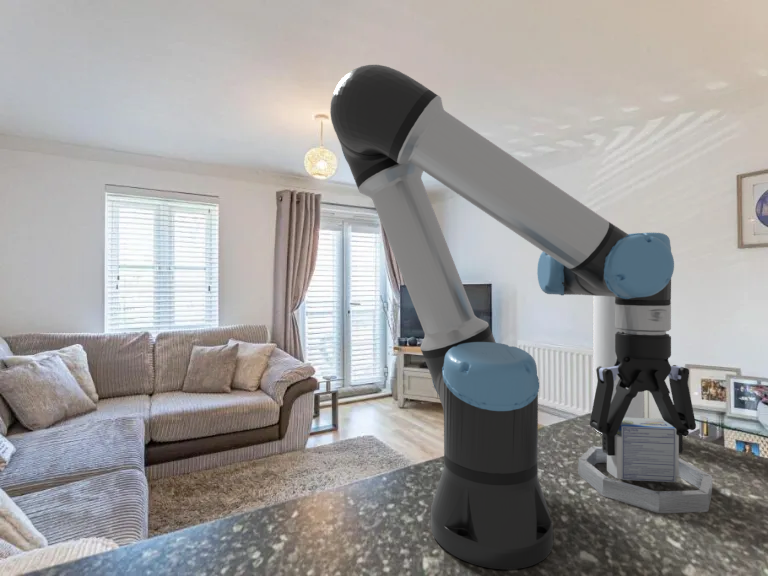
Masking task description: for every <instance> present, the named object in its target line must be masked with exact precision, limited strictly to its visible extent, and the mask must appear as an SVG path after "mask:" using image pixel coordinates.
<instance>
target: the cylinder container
mask: <svg viewBox="0 0 768 576" xmlns="http://www.w3.org/2000/svg"><path fill="white" fill-rule="evenodd" d="M592 296H593V295H592ZM592 301H593V304H592V305H593V306H592V309H593V310H592V311H593V312H592V314H593V317H592V318H593V323H592V325H593V327H592V328H593V330H592V332H593V333H592V335H593V336H592V337H593V339H592V341H593V343H592V347H593V349H592V353H593V354H592V356H593V358H592V362H593V363H592V368H593V370H592V372H593V373H592V375H593V377H592V380H593V382H592V388H593V389H592V390H593V391H592V394H593V395H592V396H593V397H592V402H593V403H594V398H595V393H596V388H597V383H598V378H597V372H596V369H597V367H599V366H601V367H604V368H607V367H613V366H614V364H615V363H616V360H617V356H616V353H615V334H616V333H617V332H619V329H617V328H616V327H615V297H610V296H593V297H592ZM619 379H620V378H619V377H618V375H616V380H615V381H614V389H613V394H612V399H611V402H612V400H613V398H614V395H615V393H616V386H617V384H618V381H619ZM626 389H629V388H627V387H626ZM593 403H592V404H593ZM624 417H627V418H645V391H643V392H638V393H637V395H636V397H634V398H633V399H632V401H631V403H630V405H629V407H628V410H627V412H626V414H625V416H624ZM595 430H596V429H595ZM596 431H597V432H599V431H598V430H596ZM597 432H596V433H597ZM599 433H601V434H602V432H599ZM601 434H600V435H601Z"/></svg>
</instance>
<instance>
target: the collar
mask: <svg viewBox="0 0 768 576" xmlns="http://www.w3.org/2000/svg"><path fill="white" fill-rule="evenodd" d="M604 463H606V464H607V454H606V453H604V452H603V450H602V446H590V447H589V448H588V449H587V450H586V451H585V452H584V453H583V454H582V455H581V456H580V457H579V458H578V465H577V466H578V468H577V469H578V471H577V472H578V475H579V476H580V478H582V479H584V481H585V482H587V483H588V484H589V485H590V486H591V487H592V488H593V489H594V490H596V491H597V493H598V494H600V495H602V497H605V498H608V499H612V500H615V501H618V502H621V503H625V504H628V505H630V506H634V507H637V508H641V509H644V510H647V511H649V512H653V513H656V514H676V513H677V514H681V513H708V512H709V508H710V505H711V498H712V494H713V476H712V475H711V474H709V473H707V472H706V471H704V470H702V469H700V468H698V467H696V466H695V465H694V464H693V465H692V464H691V463H689V462H687V461H685V460H684V459H682V458H681V457H679V477H678V478H681V479H682V480H684V481H686V482H687V483H689V484H691V485H692V486H694V487H695V488H697V490H670V491H669V490H668V491H667V490H666V491H662V490H661V491H656V490H652V489H649V488H645V487H642V486H639V485H634V484H631V483H628V482H624V481H620V480H618V479H617V480H616V479H613V478H609V477H607V475H605V474H604V473H603V472H601V471H600V470H598V468H596V467H595V465H596V464H604Z"/></svg>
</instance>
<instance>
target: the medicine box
mask: <svg viewBox="0 0 768 576" xmlns="http://www.w3.org/2000/svg"><path fill="white" fill-rule="evenodd" d="M617 434H618V435H619V436H621V437H622V479H621V480H623V481H638V482H639V481H640V482H642V481H643V482H659V483H660V482H661V483H663V482H664V483H665V482H666V483H677V477H676V428H674V427H673V426H672V425H670V424H669V423H667V422H666V421H664V420H663V418H654V417H653V418H650V417H649V418H648V417H644V418H627V417H624V418H623V421H622V423H621V425H620V427H619V430H618V432H617Z"/></svg>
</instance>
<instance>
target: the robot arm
mask: <svg viewBox="0 0 768 576" xmlns="http://www.w3.org/2000/svg"><path fill="white" fill-rule="evenodd" d="M331 97H332V98H331V101H330V111H329V114H330V120H331V124H332V127H333V130H334V132H335V135H336V137H337V139H338V142H339V144H340V147H341V150H342V154H343V157H344V159H345V161H346V163H347V165H348V166H349V170H350V172H351V174H352V177H353V179H354V182H355V185H356V187H357V190H358V193H360V194H362V195H364V196H366V197H369V198H370V199H372V203H373V205H374V208H375V210H376V213H377V214H378V215H377V216H378V218H379V221H380V222H381V225H382V228H383V230H384V233H385V235H386V239H387V241H388V243H389V246H390V248H391V251H392V253H393V257H394V259H395V261H396V264H397V266H398V269H399V272H400V274H401V277H402V279H403V282H404V284H405V287H406V289H407V292H408V294H409V297H410V299H411V303H412V305H413V307H414V309H415V312H416V314H417V318H418V321H419V322H420V325H421V328H422V330H423V333H424V336H423V337H424V338H423V340H422V342H421V344H420V347H419V348H420V350H421V354H422V356H423V358H424V360H425V364H426V366H427V368H428V371H429V373H430V376H431V381H432V384H433V387H434V389H435V391H436V392H437V395H438V398H439V401H440V404H441V407H442V409H443V454H444V455H443V470H442V473H441V475H440V479H439V482H438V484H437V488H436V491H435V493H434V497H433V500H432V503H431V505H430V506H431V508H430V529H431V533H432V535H433V538H434V539H435V541H436V543H438V544H439V546H440V547H442V548H443V549H444V550H445V551H446V552H448V553H449V554H451V555H452V556H453V557H456V558H458V559H459V560H462V561H464V562H467V563H470V564H472V565H474V566H477V567H478V566H479V567H483V568H488V569H494V570H519V569H525V568H528V567H533V566H535V565H536V564H539V563H540V562H542V561H543V560H545V559H546V558H547V557H548V556H549V555H550V553H551V551H552V549H553V547H554V546H553V545H554V525H553V519H552V516H551V514H550V509H549V508H548V507H549V506H548V504H547V502H546V498H545V495H544V492H543V489H542V486H541V483H540V480H539V473H538V470H539V469H538V459H539V458H538V456H539V455H538V453H539V451H538V450H539V448H538V447H539V444H538V440H539V439H538V438H539V437H538V436H539V435H538V433H539V428H538V427H539V423H538V422H539V417H538V416H539V412H538V411H539V407H538V406H539V391H540V390H539V389H540V381H539V377H538V368H537V363H536V361H535V359H534V357H533V356H532V355H531V354H530V353H528V351H526V350H525V349H522V348H519V347H517V346H510V345H508V344H505V343H500V342H496V340H495V337H494V335H493V332H492V330H491V328H490V325H489V322H488V321H486V320H484V319H482V318H479V317H477V316H476V315H475V312H474V309H473V307H472V305H471V303H470V300H469V297H468V295H467V292H466V289H465V287H464V284H463V282H462V280H461V277H460V274H459V272H458V269H457V265H456V264H455V261H454V259H453V256H452V253H451V251H450V248H449V246H448V244H447V240H446V238H445V236H444V234H443V233H444V232H443V230H442V228H441V225H440V223H439V220H438V218H437V215H436V213H435V211H434V210H435V209H434V208H433V205H432V202H431V200H430V197H429V195H428V192H427V190H426V187H425V185H424V183H423V179H422V175H423V173H426V174H427V175H429V176H431V177H432V178H434V179H435V180H436V181H438V182H439V183H441V184H443V186H444V187H447V188H449V189H450V190H451V191H453V192H454V193H456V194H457V195H458V196H460V197H461V198H463V199H465V200H466V201H468V202H469V203H470V204H472V205H474V206H475V207H477V208H478V209H479V210H481V211H482V212H484V213H485V214H487V215H488V216H490V217H491V218H493V219H495V220H496V221H497V222H499V223H500V224H502V225H503V226H505V227H506V228H508V229H509V230H511V231H512V232H513V233H515V234H516V235H518V236H520V237H521V238H523V239H524V240H525V241H526V242H528V243H530V244H532V245H533V246H534V247H536V248H538V249H539V250H540V251H542V252H541V254H540V255H539V258H538V263H537V273H536V274H537V281H538V285H539V288H540V290H541V291H542V292H543V293H545V294H547V295H559V296H568V295H569V296H570V295H571V296H573V295H574V296H576V295H577V296H578V295H579V296H610V297H615V327H616V328H617V329H619V332H617V333H616V334H615V353H616V356H617V360H616V363H615V364H614V366H613V367H607V368H604V367H601V366H599V367H597V369H596V372H597V378H598V383H597V388H596V393H595V398H594V403H592V409H591V410H592V411H591V414H590V420H589V426H590V427H591V428H592V429H593V428H594V429H596V430H598V431H599V432H602V435H601V437H602V438H601V440H602V442H601V443H602V444H601V445H602V450H603V452H604V453H606V454H607V463H606V472H608V473H609V474H610V475H611V476H613V477H614V478H615V479H617V480H618V479H619V480H620V479H621V480H622V437H621V436H619V435H618V434H617V432H618V430H619V427H620V425H621V423H622V421H623V418H624V416H625V414H626V412H627V410H628V407H629V405H630V403H631V401H632V399H633V398H634V397H636V395H637V393H638V392H643V391H644V392H645V391H646V392H647V391H648V392H649V393H650V394H651V396H652V399H653V400H654V402H655V405H656V407H657V409H658V412H659V414H660V416H661V419H662V420H664V421H666V422H667V423H669V424H670V425H672V426H673V427H674V428H676V478H680V477H679V458H680V454H682V453H683V444H684V443H683V437H687V436H689V434H690V432H689V430H691V431H695V429H696V428H697V425H696V418H695V413H694V409H693V403H692V399H691V398H692V397H691V392H690V388H689V377H690V370H689V368H686V367H685V366H680V365H676V364H673V365H671V364H670V362H669V358H671V356H672V336H670V334H668V333H667V332H669V331H670V330H671V329H672V301H671V300H672V277H673V274H674V270H675V261H674V256H673V253H672V247H671V240H670V236H668V235H667V234H665V233H664V232H638V233H637V232H635V233H627V232H625V231H624V230H622V229H621V228H619V227H618V226H616V225H614V224H613V223H611V222H610V221H608V220H607V219H605V218H604V217H602V216H601V215H599V214H598V213H597V212H595V211H594V210H592V209H591V208H589V207H588V206H586V205H585V204H583V203H582V202H580V201H579V200H578V199H576V198H574V197H573V196H571V195H570V194H569V193H567V192H565V191H564V190H562V189H561V188H560V187H559V186H556V185H555V184H554V183H552V182H551V181H549V180H548V179H546V178H545V177H544V176H542V175H541V174H539V173H537V172H536V171H534V170H533V169H532V168H530V167H529V166H527V165H526V164H525V163H523V162H521V161H520V160H518V159H517V158H515V157H514V156H513V155H511V154H509V153H508V152H507V151H505V150H503V149H502V148H501V147H499V146H497V145H496V144H495V143H493V142H491V141H490V140H489V139H488V138H486V137H484V136H483V135H482V134H480V133H479V132H478V131H475V130H474V129H472V128H471V127H470V126H468V125H467V124H465V123H464V122H462V121H461V120H459V119H458V118H457V117H455V116H453V115H452V114H450V113H449V112H448V111H446V110H445V109H444V106H443V100H442V97H441V96H440V95H438V94H437V93H436V92H434V91H432V90H431V89H429V88H427V86H425V85H423V84H422V83H421V82H418V81H416V79H414V78H412V77H411V76H409V75H407V74H405V73H403V72H401V71H400V70H397V69H394V68H392V67H389V66H386V65H381V64H368V65H361V66H360V67H357V68H355V69H354V68H353V69H352V70H351V71H349V72H348V73H347V74H345V75H344V77H342V78H341V79H340V81H339V82H338V84H337V85H336V87H335V88H334V91H333V93H332V96H331ZM616 375H618V377H619V378H620V379H619V381H618V384H617V386H616V393H615V395H614V398H613V400H612V402H611V399H612V394H613V389H614V381H615V380H616ZM667 378H668V379H669V381H668V382H669V386H670V389H669V388H668V385H667V383H666V379H667ZM626 387H627V388H629V389H626ZM670 391H671V392H670ZM670 394H671V397H670ZM671 398H672V399H671Z"/></svg>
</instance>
